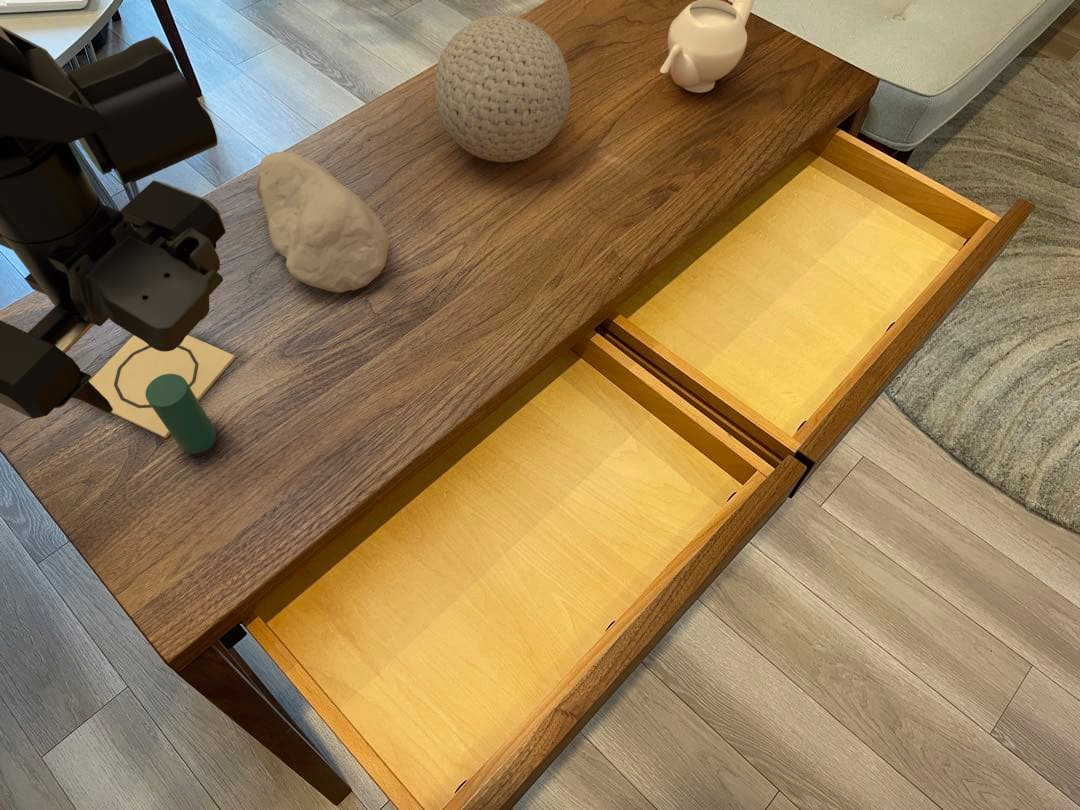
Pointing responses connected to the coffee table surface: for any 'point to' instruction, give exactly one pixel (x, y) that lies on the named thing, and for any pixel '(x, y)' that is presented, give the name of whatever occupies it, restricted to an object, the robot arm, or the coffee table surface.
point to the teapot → (706, 42)
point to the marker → (181, 414)
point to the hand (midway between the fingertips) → (149, 363)
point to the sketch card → (142, 364)
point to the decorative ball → (502, 88)
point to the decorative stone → (320, 224)
